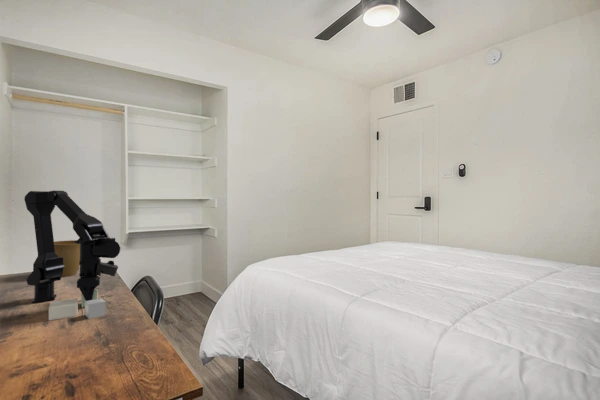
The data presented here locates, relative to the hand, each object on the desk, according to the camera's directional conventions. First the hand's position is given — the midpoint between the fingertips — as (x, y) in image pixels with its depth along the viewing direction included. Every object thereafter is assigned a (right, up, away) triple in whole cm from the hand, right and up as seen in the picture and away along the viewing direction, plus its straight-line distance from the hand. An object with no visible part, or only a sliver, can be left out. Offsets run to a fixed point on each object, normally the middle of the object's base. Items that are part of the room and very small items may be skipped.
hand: (89, 301), depth 112 cm
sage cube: (0, -1, 0) cm, 1 cm away
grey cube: (+8, -1, -10) cm, 13 cm away
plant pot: (-39, -1, +43) cm, 58 cm away
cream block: (-2, -1, -10) cm, 10 cm away
